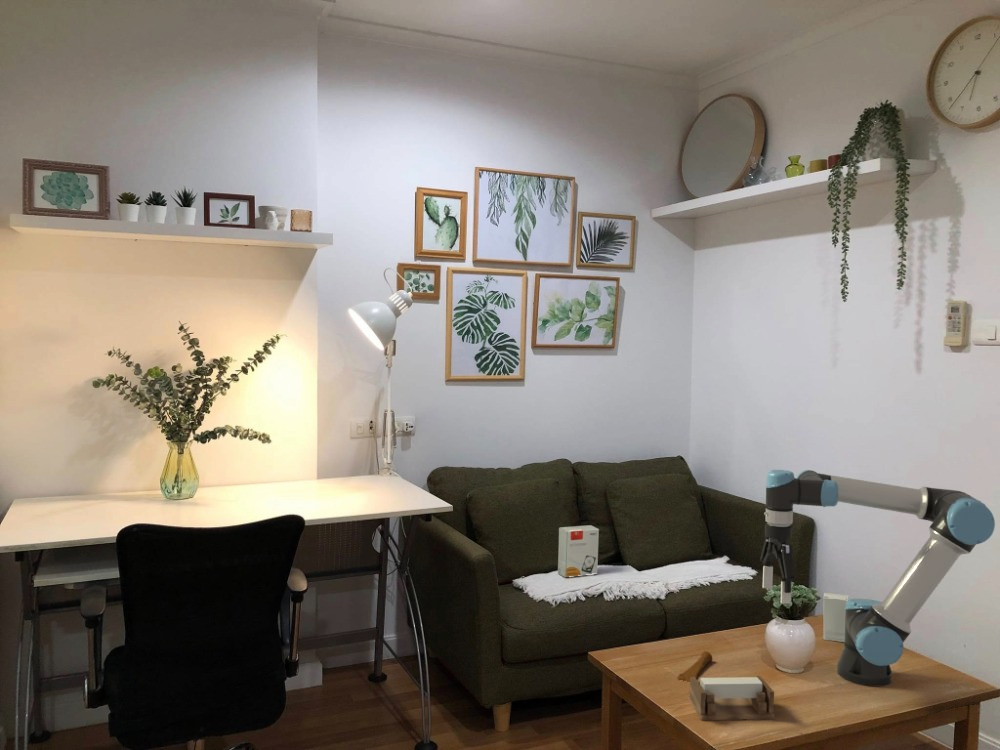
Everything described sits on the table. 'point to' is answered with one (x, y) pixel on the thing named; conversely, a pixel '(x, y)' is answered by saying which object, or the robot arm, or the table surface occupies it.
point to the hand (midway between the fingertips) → (776, 595)
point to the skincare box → (834, 616)
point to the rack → (732, 704)
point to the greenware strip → (732, 687)
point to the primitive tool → (696, 667)
